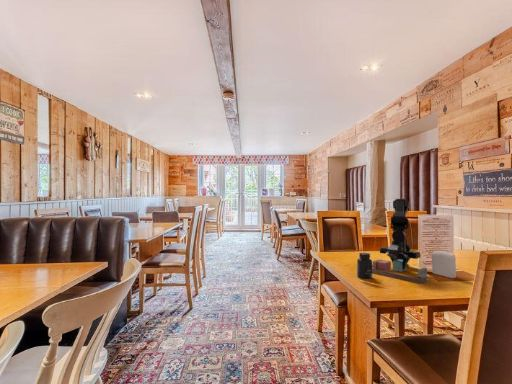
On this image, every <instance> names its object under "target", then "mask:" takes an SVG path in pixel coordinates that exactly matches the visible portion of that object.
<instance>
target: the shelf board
mask: <svg viewBox="0 0 512 384" xmlns="http://www.w3.org/2000/svg"><path fill="white" fill-rule="evenodd" d="M382 260H383V259H380V258H379V259H376V260H372V264H373V267H372V274H376V275H380V276H385V277H389V278H392V279H393V278H394V279H398V280H403V281H405V282H410V283H411V282H412V283H415V284H419V285H423V284H424V283H423V279H419V278H418V277H414V276H409V275H405V274H400V273H395V272H392V271H391V272H387V271H382V270H378V269H377V262H378V261H382Z"/></svg>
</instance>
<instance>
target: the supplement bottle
mask: <svg viewBox="0 0 512 384" xmlns="http://www.w3.org/2000/svg"><path fill="white" fill-rule="evenodd" d="M356 263H357V264H356V276H357V278H358V279H363V280H369V279H371V280H372V279H373V273H372V268H373V267H372V264H373V260H372V259H371V253H369V252H360V253H359V258H358V259H357V260H356Z"/></svg>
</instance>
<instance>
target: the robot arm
mask: <svg viewBox="0 0 512 384" xmlns="http://www.w3.org/2000/svg"><path fill="white" fill-rule="evenodd" d="M392 208H393V209H394V213H392V216H391V217H390V229H391V230H392V234H391V238H392V241H391V244H390V246H382V247H380V248H379V253H380V254H386V256H387V257H389V259H390V261H391V264H393V261H394V260H397V259H400V260H403V270H404V271H406V270H405V267H406V268H407V267H408V266H409V264H408V263H409V261H410V259H415V260H417V259H419V258H421V252H420V251H416V250H411V247H410V245H409V244H408V241H407V238H406V230H408V229H409V223H410V222H409V218H408V217H407V213H408V209H410V202H409V200H406V199H405V198H395V200H393V201H392Z"/></svg>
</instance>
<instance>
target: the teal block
mask: <svg viewBox="0 0 512 384" xmlns="http://www.w3.org/2000/svg"><path fill="white" fill-rule="evenodd" d="M392 271H395V272H400V273H401V272H404V271H407V266H406V267H405V270H403V260H400V259H397V260H394V261H393V263H392Z"/></svg>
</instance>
